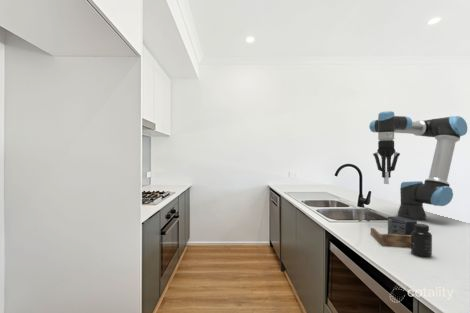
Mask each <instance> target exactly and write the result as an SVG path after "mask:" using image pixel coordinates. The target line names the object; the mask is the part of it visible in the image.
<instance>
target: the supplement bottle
mask: <svg viewBox="0 0 470 313" xmlns="http://www.w3.org/2000/svg"><path fill="white" fill-rule="evenodd" d="M414 229H415V230H413V231H412V232H411V248H410V253H411V254H412V255H414V256H416V257H419V258H425V257H426V258H427V257H428V258H431V257H432V255H433V234H432V233H431V232H429V231H430V226H429V225H428V224H425V223H418V222H417V224H414ZM426 258H425V259H426Z"/></svg>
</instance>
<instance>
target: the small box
mask: <svg viewBox="0 0 470 313" xmlns="http://www.w3.org/2000/svg"><path fill="white" fill-rule="evenodd" d="M417 223H418V220H410V219H406V218H402V217H399V216H397V215H395V216H387V234H397V235H411V232H412V231H413V230H415V229H414V224H417Z"/></svg>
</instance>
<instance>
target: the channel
mask: <svg viewBox="0 0 470 313" xmlns="http://www.w3.org/2000/svg"><path fill="white" fill-rule="evenodd" d="M370 235H371V236H372V238H374V239H375V240H376V241H377V243H379V244H380V245H381V246H382V247H390V248H391V247H394V248H395V247H396V248H406V247H407V248H409V249H411V235H397V234H388V233H380V232H379V231H377V230H376V228H374V227H370Z"/></svg>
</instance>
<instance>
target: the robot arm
mask: <svg viewBox="0 0 470 313" xmlns="http://www.w3.org/2000/svg"><path fill="white" fill-rule="evenodd" d="M377 117H378V118H377V119H374V120H372V121H371V122H370V123H369V126H368V127H369V130H370V132H372V133H378V135H377V140H378V142H377V145H378V146H377V148H378V149H377V150H376V151H375V152H373V153H372V155H373V157H374V159H375V163H376V167H377V171H380V172H381V178H383V184H385V185H389V183H390V182H389V179H390V178H391V173H392V172H394V171H395V170H396V165H397V162H398V159H399V157H400V155H401V153H400V152H397V151H396V149H395V134H413V135H414V136H418V137H425V138H434V139H435V140H436V144H435V149H434V153H433V156H432V162H431V165H430V170H429V176H428V178H426V179H425V180H424V182H423V181H422V180H417V181H416V180H415V181H402V182H401V183H400V188H399V190H400V191H399V193H400V204H399V208H398V210H397V215H396V216H399V217H402V218H406V219H410V220H414V221H425V220H427V214H426V211H425V209H424V205H423V204H427V205H432V206H436V207H446V206H447V205H448V204H450V203H451V202H452V200H453V197H454V193H453V189H452V188H451V187H450V185H451V184H450V183H449V182H448V179H449V173H450V170H451V164H452V161H453V155H454V153H455V152H454V151H455V148H456V147H455V146H456V143H458V142H459V141H460V139H461V137H463V136H465V135H466V134H467V132H468V124H467V123H468V122H466V120H465V119H464V117H462V116H460V115H459V116H458V115H456V116H455V115H454V116H451V115H450V116H446V117H445V116H444V117H438V118H432V119H426V120H415V121H413V120H412V118H411V117H408V116H404V115H401V116H400V115H395V112H394V111H392V110H388V111H380V112H379V113H378V115H377ZM379 156H380V157H381V162H380V157H379ZM392 158H393V159H392ZM391 160H392V161H391Z"/></svg>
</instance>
